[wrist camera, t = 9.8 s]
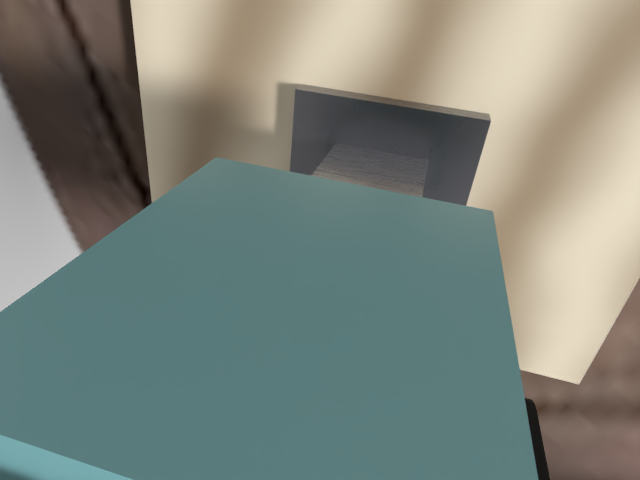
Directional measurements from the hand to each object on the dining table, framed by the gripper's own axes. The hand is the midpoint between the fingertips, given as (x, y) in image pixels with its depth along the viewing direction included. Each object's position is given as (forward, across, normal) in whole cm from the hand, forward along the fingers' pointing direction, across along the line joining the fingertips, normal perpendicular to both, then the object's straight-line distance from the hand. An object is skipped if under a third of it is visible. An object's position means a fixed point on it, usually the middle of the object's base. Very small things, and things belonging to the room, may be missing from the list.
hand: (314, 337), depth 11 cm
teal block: (+2, 0, 0) cm, 2 cm away
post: (+11, 0, 0) cm, 11 cm away
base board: (+11, 0, 0) cm, 11 cm away
